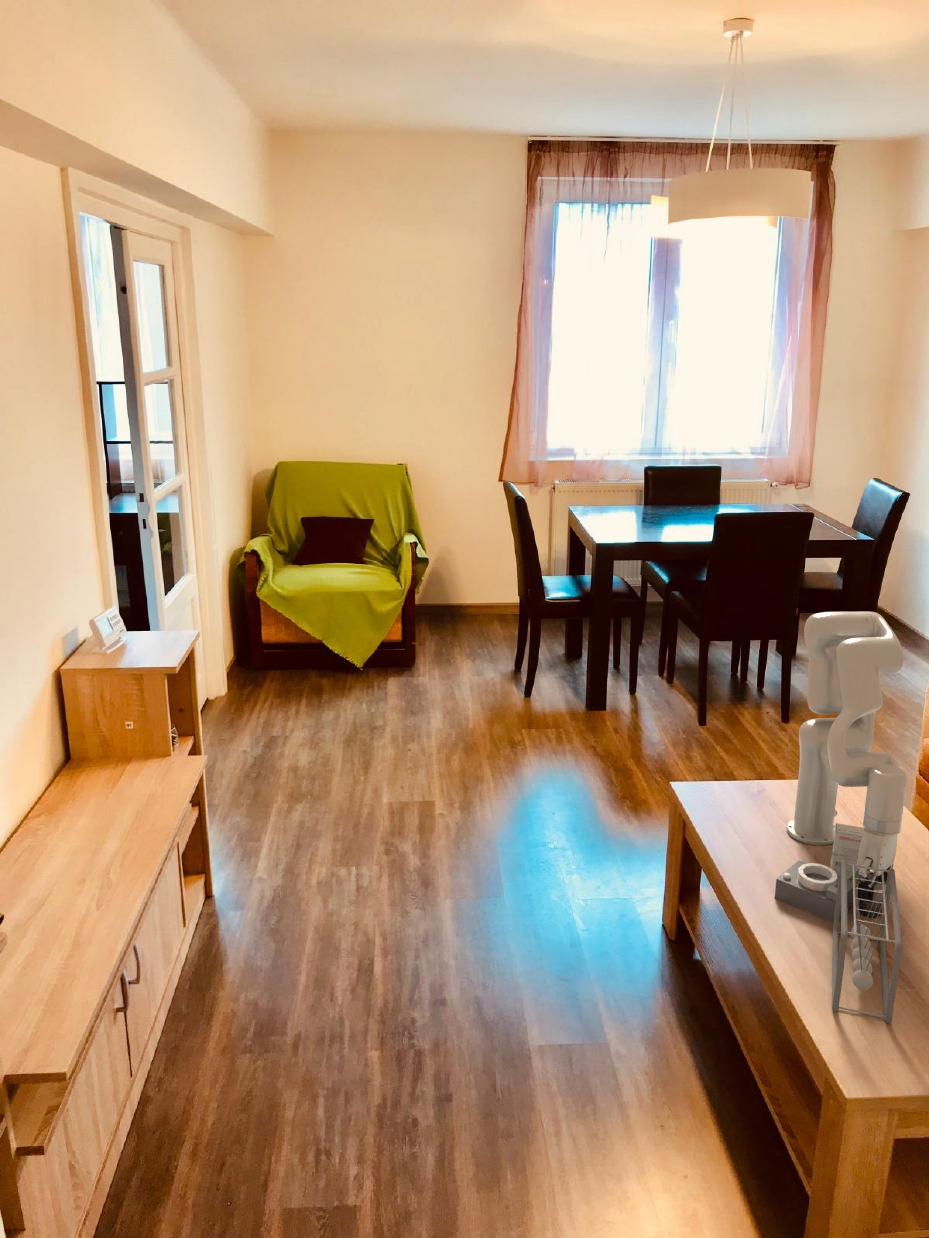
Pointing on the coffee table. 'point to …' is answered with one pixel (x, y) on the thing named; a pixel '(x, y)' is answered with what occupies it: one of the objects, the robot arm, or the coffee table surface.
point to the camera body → (812, 889)
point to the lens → (867, 906)
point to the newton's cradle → (865, 941)
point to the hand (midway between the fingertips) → (873, 891)
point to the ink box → (846, 848)
